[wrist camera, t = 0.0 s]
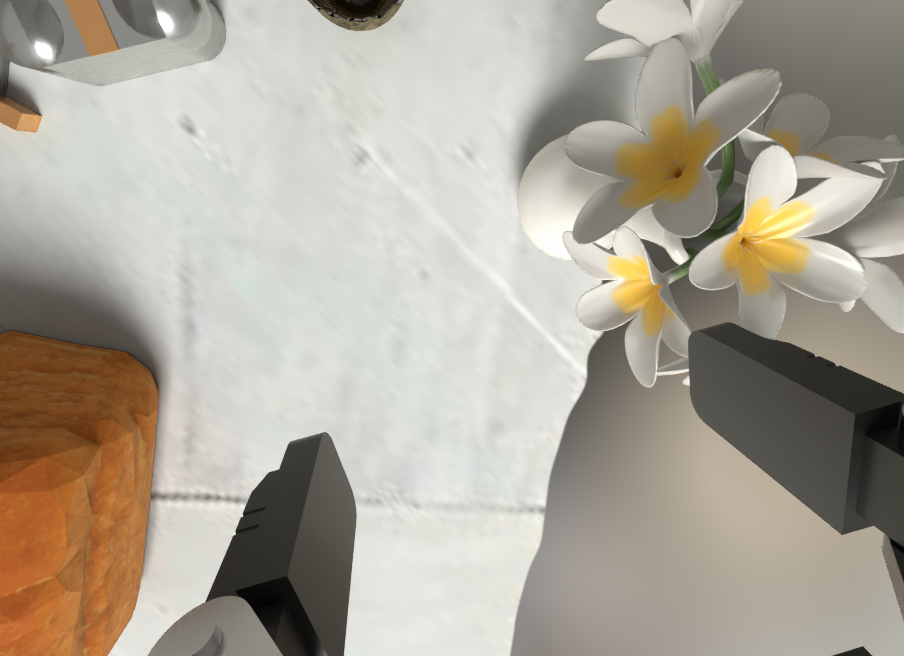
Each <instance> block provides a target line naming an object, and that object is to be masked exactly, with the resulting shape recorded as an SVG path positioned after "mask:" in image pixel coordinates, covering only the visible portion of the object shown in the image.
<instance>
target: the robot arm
mask: <svg viewBox="0 0 904 656" xmlns="http://www.w3.org/2000/svg"><path fill="white" fill-rule="evenodd" d="M688 358H689V379H690V396H691V401H692V404H693V406H694V409H695V411H696V412H697V414H698V416H699V417H700V418H701V419H702V421H703V422H705V423H706V424H707V425H709V427H711V428H712V429H713V430H714V431H715V432H717V433H718V434H719V435H720V436H722V437H723V438H724V439H725V440H727V441H728V442H729V443H730V444H731V445H733V446H734V447H735V448H736V449H738V450H739V451H740V452H741V453H742V454H744V455H745V456H746V457H747V458H748V459H750V460H751V461H752V462H753V463H755V464H756V465H757V466H758V467H759V468H761V469H762V470H763V471H765V472H766V473H767V474H768V475H769V476H771V477H772V478H773V479H774V480H775V481H777V482H778V483H779V484H780V485H782V486H783V487H784V488H785V489H786V490H788V491H789V492H790V493H791V494H793V495H794V496H795V497H796V498H797V499H799V500H800V501H801V502H802V503H804V504H805V505H806V506H807V507H808V508H810V509H811V510H812V511H813V512H815V513H816V514H817V515H818V516H819V517H821V518H822V519H823V520H824V521H826V522H827V523H828V524H830V525H831V526H832V527H833V528H834V529H835V530H837V531H838V532H839V533H840V534H841V535H843V534H847V533H850V532H853V531H857V530H860V529H864V528H867V527H870V526H875V527H876V528H878V529H879V530H881V531H882V532H883V539H882V545H881V548H882V553H883V556H884V559H885V563H886V566H887V569H888V572H889V575H890V579H891V582H892V585H893V588H894V592H895V595H896V598H897V601H898V604H899V608H900V611H901V614H902V617H903V620H904V394H903V393H901V392H898V391H896V390H894V389H892V388H889V387H887V386H885V385H883V384H880V383H878V382H876V381H874V380H871V379H869V378H867V377H865V376H862V375H860V374H858V373H856V372H853V371H851V370H849V369H847V368H845V367H842V366H836V365H835V363H833V362H831V361H829V360H826V359H824V358H822V357H820V356H819V357H815V355H814V354H813V353H811V352H809V351H806V350H804V349H802V348H800V347H797V346H795V345H793V344H790V343H786V342H782V341H777V340H773V339H768V338H764V337H762V336H759V335H757V334H755V333H753V332H751V331H749V330H746V329H744V328H742V327H740V326H738V325H736V324H733V323H729V322H727V323H723V324H719V325H715V326H712V327H709V328H705V329H701V330H697V331H694V332H692V333H691V334H690V336H689V339H688ZM355 529H356V506H355V500H354V496H353V492H352V489H351V486H350V484H349V481H348V479H347V476H346V474H345V471H344V469H343V466H342V464H341V461H340V459H339V456H338V454H337V451H336V449H335V446H334V444H333V441H332V439H331V437H330V436H329V434H328V433H326V432H324V433H320V434H316V435H313V436H309V437H306V438H302V439H298V440H295V441H291V442H290V443H289V444H288V447H287V449H286V452H285V455H284V458H283V460H282V463H281V466H280V469H279V470H276V471H272V472H269V473H268V474H267V475H266V476H265V478H264V479H263V480H262V481H261V482H260V483H259V485H258V486H257V487H256V488H255V489H254V490H253V491H252V493H251V495H250V498H249V500H248V502H247V505H246V507H245V509H244V512H243V517H241V519H240V521H239V524H238V526H237V528H236V535H234V536H233V538H232V540H231V543H230V545H229V547H228V550H227V552H226V554H225V557H224V559H223V562H222V564H221V566H220V569H219V571H218V573H217V576H216V578H215V581H214V583H213V585H212V588H211V590H210V592H209V595H208V597H207V599H206V602H205V603H203V604H201V605H199V606H197V607H196V608H194V609H192V610H191V611H189V612H188V613H187V614H185V615H184V616H183V617H181V618H180V619H179V620H178V621H176V622H175V623H174V624H173V625H172V626H171V627H170V628H169V629H168V630H167V631H166V632H165V633H164V634H163V635H162V637H161V638H160V639H159V640H158V641H157V643H156V644H155V645H154V647H153V648H152V650H151V651H150V653H149V655H148V656H344V647H345V636H346V625H347V615H348V604H349V593H350V583H351V572H352V561H353V551H354V540H355ZM833 656H872V655H871V654H870V653H869V652H868V651H867V650H866V649H865V648H864V647H859V648H856V649H853V650H850V651H846V652H843V653H840V654H837V655H833Z"/></svg>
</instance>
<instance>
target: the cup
mask: <svg viewBox="0 0 904 656" xmlns="http://www.w3.org/2000/svg"><path fill="white" fill-rule="evenodd" d="M308 1H309V2H310V3H311V4H312V5H313V6H314V7H315V8H316V9H317V10H318V11H319V12H320V13H321V14H322V15H323V16H324V17H326V18H327V19H328V20H329V21H331V22H333V23H334V24H336V25H338V26H340V27H342V28H345V29H348V30H353V31H367V30H372V29H375V28H377V27H380V26H381V25H383V24H385V23H386V22H387V21H388V20H390V19H391V18H392V17H393V16H394V15H395V13H396V12H397V11H398V9H399V8H400V6H401V5H402V3H403V1H404V0H368V2H367V3H365V4H363V5H357V4H354V3H353V2H352V1H351V0H308Z"/></svg>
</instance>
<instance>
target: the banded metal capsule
mask: <svg viewBox="0 0 904 656" xmlns="http://www.w3.org/2000/svg"><path fill="white" fill-rule="evenodd" d="M225 40H226V29H225V24H224V21H223V18H222V16H221V14H220V12H219V11H218V10H217V8H216V7H215V6H214V5H213V4H212V3H211V2H210V1H209V0H0V54H1V55H2V56H3V57H5V58H6V59H8V60H9V61H11V62H13V63H15V64H17V65H20V66H23V67H26V68H30V69H34V70H37V71H41V72H45V73H49V74H52V75H56V76H60V77H64V78H67V79H71V80H75V81H78V82H82V83H86V84H90V85H94V86H104V85H109V84H113V83H117V82H121V81H125V80H130V79H134V78H138V77H142V76H146V75H150V74H155V73H159V72H163V71H167V70H171V69H176V68H180V67H184V66H188V65H192V64H196V63H201V62H205V61H208V60H211V59H213V58H215V57H216V56H217V55H218V54H219V53H220V52H221V51H222V49H223V47H224V44H225Z"/></svg>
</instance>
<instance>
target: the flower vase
mask: <svg viewBox="0 0 904 656" xmlns="http://www.w3.org/2000/svg"><path fill="white" fill-rule="evenodd" d="M743 1H744V0H690V7H691V13H690V12H689V9H688V7H687V6H686V4H685V3H684V1H683V0H611V1H609V2H607V3H605V5H604V6H603V7H602V8H601V9H600V10H599V11H598V12H597V15H596V20H597V21H598V22H599V24H601V25H603V26H605V27H607V28H610V29H613V30H616V31H619V32H622V33H625V34H628V35H630V36H633V37H634V38H636V39H637V40H636V39H633V38H621V39H618V40H615V41H611V42H609V43H607V44H605V45H602V46H600V47H599V48H597V49H595V50H594V51H593V52H591V53H589V55H587V56H586V57H585V58H584V60H585V61H592V60H603V59H613V58H625V57H648V58H647V59H646V61H645V63H644V65H643V68H642V70H641V72H640V76H639V79H638V83H637V89H636V99H635V109H636V116H637V120H638V122H639V124H640V126H641V128H642V130H643V132H644V133H645V134H643V133H642V132H641V131H639V130H638V129H636V128H634V127H632V126H631V125H629V124H626V123H622V122H619V121H612V120H597V121H591V122H588V123H585V124H582V125H580V126H578V127H576V128H575V129H574V130H572V131H571V132H570V133H569V134H568V135H564V136H562V137H560V138H558V139H556V140H554V141H552V142H550V143H548V144H547V145H546V146H545V147H543V148H542V149H541V150H540V151H539V152H538V153H537V154H536V155H535V156H534V157H533V159H532V160H531V162H530V163H529V165H528V166H527V168H526V169H525V172H524V174H523V177H522V179H521V182H520V185H519V191H518V199H517V206H518V214H519V220H520V222H521V225H522V227H523V230H524V232H525V234H526V235H527V236H528V238H529V239H530V240H531V242H532V243H533V244H534V245H535V246H536V247H538V248H539V249H540V250H542V251H543V252H544V253H546V254H548V255H550V256H553V257H556V258H559V259H565V260H574V261H575V263H576V264H577V265H578V266H579V267H580V268H581V269H582V270H583V271H585V272H586V273H587V274H589V275H590V276H592V277H594V278H596V279H600V280H613V281H610V282H607V283H605V284H602V285H599V286H597V287H595V288H593V289H591V290H589V291H587V292H586V293H585V294H584V295H582V296H581V298H580V299H579V301H578V302H577V306H576V315H577V317H578V318H579V320H580V322H581V323H582V324H583V325H584V326H586V327H587V328H589V329H591V330H595V331H607V330H610V329H614V328H616V327H618V326H621V325H622V324H624V323H625V322H627V321H629V320H631V319H632V318H633V317H635V318H634V319H633V320H632V322H631V323H630V325H629V327H628V328H627V330H626V334H625V349H626V354H627V358H628V361H629V364H630V366H631V368H632V371H633V373H634V374H635V376H636V378H637V379H638V381H639V382H640V383H641V384H642V385H643V386H646V387H648V388H649V387H652V386H653V384H654V383H655V380H656V376H657V375H671V374H679V373H683V372H687V371H689V358H688V339H689V336H690V334H691V333H692V331H691V329H690V328H689V326H688V324H687V323H686V321H685V320H684V318H683V316H682V315H681V313H680V312H679V310H678V308H677V307H676V305H675V303H674V301H673V298H672V296H671V293H670V290H669V284H670V283H671V282H673V281H675V280H677V279H679V278H680V277H682V276H684V275H686V274H687V273H689V279H690V280H691V283H692V284H694V285H695V286H696V287H699V288H701V289H706V290H718V289H724V288H726V287H730V286H731V285H733V284H734V283H735V282H736V284H737V288H738V292H739V326H740V327H742V328H744V329H746V330H749V331H751V332H753V333H755V334H757V335H759V336H762V337H764V338H768V339H774V338H775V336H776V334H777V333H778V331H779V329H780V327H781V325H782V322H783V319H784V315H785V310H786V295H785V292H784V290H783V289H782V287H781V286H780V285H779V283H778V282H777V281H779V282H780V283H782V284H784V285H786V286H788V287H790V288H792V289H793V290H796V291H798V292H800V293H802V294H803V295H806V296H809V297H811V298H813V299H816V300H820V301H824V302H829V303H839V305H840V307H841V309H842V310H843V311H846V312H847V311H850V309H852V308H853V306H854V304H855V301H856V299H857V298H859V297H860V298H861V299H862V300H863V301H864V302H865V303H866V304H867V305H868V306H869V307H870V308H871V309H872V310H873V311H874V312H875V313H876V314H877V315H878V316H879V317H880V318H881V319H882V320H883V321H884V322H885V323H886V324H887V325H888V326H889V327H890V328H891V329H893V330H895V331H897V332H901V333H904V284H903V282H902V281H901V280H900V278H899V277H898V275H897V274H896V273H895V272H894V271H893V270H892V269H891V268H889V267H888V266H886V265H885V264H882V263H879V262H876V261H873V260H870V259H866V258H862V257H884V256H885V257H887V256H893V255H899V254H904V197H900V198H896V199H894V200H891V201H888V202H884V203H881V204H878V205H875V206H872V207H868V208H866V207H867V206H869V205H870V204H872V203H874V202H875V201H877V200H878V199H880V198H881V197H882V196H883V195H884V193H885V192H886V191H887V189H888V188H889V186H890V183H891V181H892V179H893V177H894V175H895V171H896V168H897V164H898V161H899V160H904V146H902V145H900V144H899V141H898V139H897V136H895V135H890V136H887V137H886V138H885V139H884V140H882V139H877V138H871V137H862V136H841V137H836V138H832V139H829V140H827V141H825V142H823V143H821V144H819V145H818V146H816V147H814V148H813V149H811V148H812V147H813V146H814V145H815V143H816V142H817V141H818V140H819V139H820V138H821V136H822V135H823V134H824V132H825V130H826V129H827V127H828V124H829V121H830V114H829V110H828V109H827V107H826V106H825V105H824V103H823V102H821V101H820V100H819V99H817V98H816V97H812V96H809V95H807V94H806V93H804V94H802V93H794V94H789V95H786V96H785V97H783V98H782V99H781V100H780V101H779V102H778V103H777V105H776V107H775V108H774V110H773V112H772V114H771V116H770V118H769V120H768V122H767V124H766V126H765V128H764V131H763V123H764V112H765V111H766V109H767V108H768V106H769V105H770V104H771V103H772V102H773V100H774V99H775V97H776V95H777V94H778V92H779V89H780V86H781V84H782V81H781V78H780V75H779V71H776V70H774V69H767V68H764V69H758V70H753V71H750V72H747V73H744V74H741V75H739V76H737V77H735V78H733V79H731V80H729V81H726V80H724V79H721V78H719V77H717V74H716V72H715V69H714V67H713V64H712V61H711V57H710V51H711V49H712V47H713V45H714V43H715V42H716V40H717V39H718V37H719V35H720V34H721V32H722V30H723V29H724V28H725V26H726V25H727V23H728V22H729V20H730V19H731V17H732V16H733V14H734V13H735V12H736V10H737V9H738V7H739V6H740V5H741V3H742V2H743ZM690 61H692V62H694V63H695V66H696V69H697V71H698V74H699V76H700V78H701V81H702V82H703V85H704V87H705V90H706V93H707V97H706V98H705V99H704V100H703V101H702V102H701V104H700V105H699V107H698V110H697V113H696V116H695V114H694V108H693V98H692V72H691V63H690ZM736 136H738V137H739V140H740V143H741V145H742V148H743V151H744V154H745V156H746V158H747V160H748V161H749V163H750V165H751V170H750V173H749V175H748V176H746V175H744V174H742V173H739V172H737V171H735V147H734V141H733V139H734V138H735V137H736ZM719 149H721V150H722V164H723V167H722V169H719V170H714V171H708V170H707V168H706V165H707V163H708V162H709V161H710V160H711V159H712V157H713V156H714V155H715V154H716V153H717V152H718V150H719ZM810 149H811V150H810ZM809 150H810V151H809ZM815 177H830V178H828V179H826V180H824V181H823V182H822V183H820V184H818V185H817V186H815V187H813V188H812V189H810V190H809V191H807V192H805V193H803V194H801V195H799V196H797V197H795V198H793V199H791V200H788V199H789V198H790V197H791V196H792V195H793V194H794V192H795V190H796V186H797V179H802V178H815ZM786 200H788V201H786ZM785 201H786V202H785ZM864 208H865V209H864ZM808 236H811V237H809V238H804V237H808ZM640 238H641V239H645V240H649V241H652V242H654V243H656V244H658V245H660V246H661V247H663V248H664V249H666V250H667V252H668V253H669V255H670V256H671V258H672V259H673V260H674V261H675V262H676V263H677V264H679V266H677V267H675V268H673V269H671V270H669V271H667V272H665V273H663V274H661V273H660V272H659V271H658V270H657V269H656V268H655V267H654V265H653V263H652V261H651V259H650V257H649V255H648V253H647V251H646V249H645V246H644V245H643V243H642V241H641V239H640ZM612 246H613V248H614V251H611V250H609V249H610V248H611V247H612ZM775 279H776V280H777V281H776V280H775ZM661 337H662V338H663V340H664V342H665V343H666V344H667V345H668V347H669V348H670V349H672V350H673V351H674V352H676V353H678V354H679V355H681V356H685V358H682V359H680V360H678V361H675V362H673V363H670V364H668V365H665V366H662V367H660V368H658V358H659V346H660V340H661ZM683 384H685V385H690V379H689V375H688V376H687V377H686V378H685V379H684V380H683Z"/></svg>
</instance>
